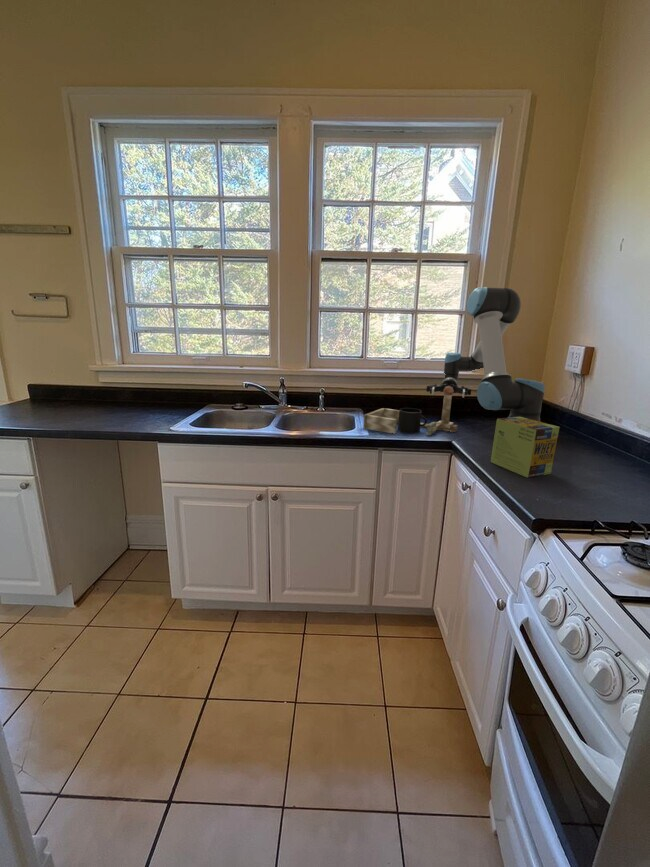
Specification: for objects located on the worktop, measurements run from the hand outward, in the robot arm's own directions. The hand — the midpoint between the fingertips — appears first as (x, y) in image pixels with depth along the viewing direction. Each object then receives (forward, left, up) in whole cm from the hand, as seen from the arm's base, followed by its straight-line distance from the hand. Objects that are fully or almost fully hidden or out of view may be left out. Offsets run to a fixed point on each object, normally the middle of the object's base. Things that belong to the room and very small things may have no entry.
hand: (447, 393), depth 179 cm
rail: (+5, +10, -15) cm, 18 cm away
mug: (+8, +20, -15) cm, 26 cm away
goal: (+19, +20, -15) cm, 31 cm away
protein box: (-38, +42, -15) cm, 59 cm away
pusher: (-3, +16, -14) cm, 21 cm away
